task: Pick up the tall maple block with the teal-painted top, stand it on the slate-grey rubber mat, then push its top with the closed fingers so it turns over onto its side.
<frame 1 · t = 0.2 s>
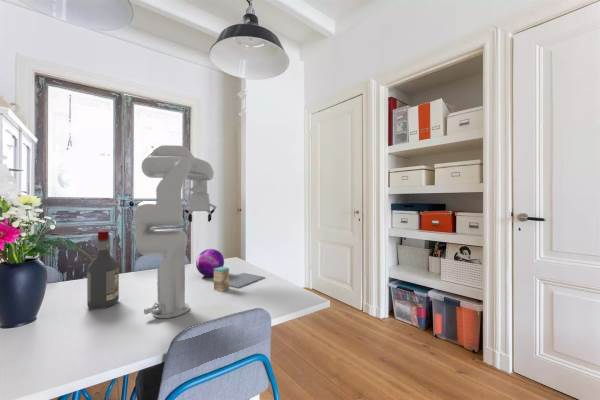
hand: (200, 221, 148), 31 cm above the table, tool pointing down, fingers open, 9 cm apart
decorative orb: (210, 276, 152), on the table
liquor: (103, 305, 110), on the table
slate mat: (241, 280, 143), on the table
maple block: (221, 289, 129), on the table
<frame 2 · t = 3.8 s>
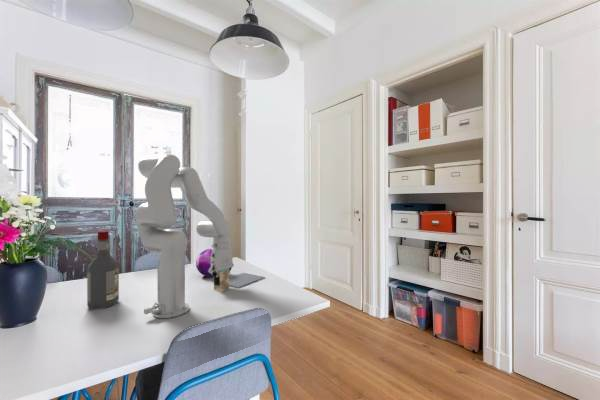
hand: (221, 282, 129), 3 cm above the table, tool pointing down, fingers closed on maple block, 5 cm apart
maple block: (221, 289, 129), on the table, touching gripper
everything else where it was.
when the fingers open (4 cm above the table, at t = 9.4 s): maple block stays where it is, resting on slate mat.
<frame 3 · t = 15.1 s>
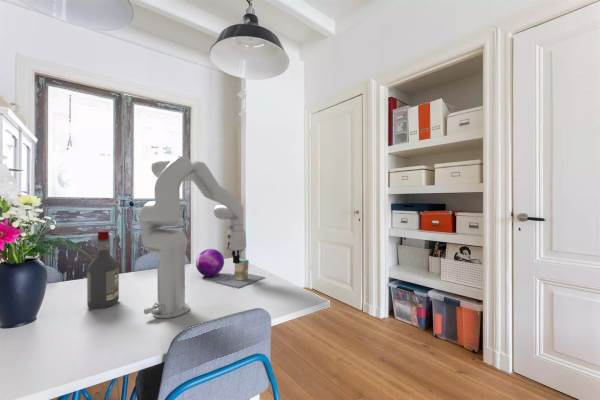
hand: (236, 262, 140), 10 cm above the table, tool pointing down, fingers closed
maple block: (240, 278, 143), point 1 cm above the table, touching gripper, slate mat
everything else where it was.
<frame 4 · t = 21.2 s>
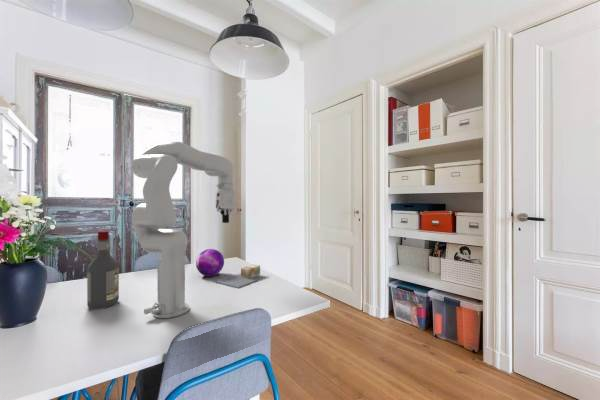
hand: (225, 222, 139), 31 cm above the table, tool pointing down, fingers closed
maple block: (244, 273, 145), point 3 cm above the table, tilted 90°, touching slate mat
everything else where it was.
at the end: maple block tilted 90°; maple block inside the target area (1.6 cm from its centre), point 3.1 cm above the table; the gripper is holding nothing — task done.
